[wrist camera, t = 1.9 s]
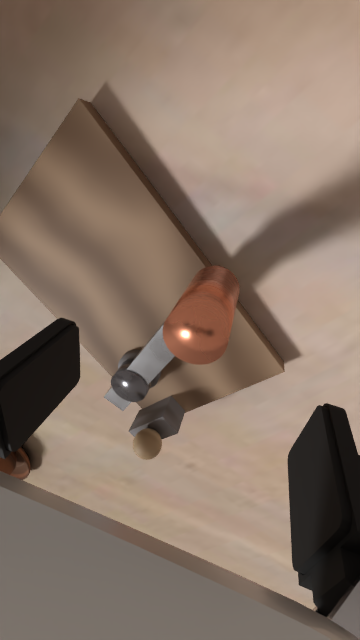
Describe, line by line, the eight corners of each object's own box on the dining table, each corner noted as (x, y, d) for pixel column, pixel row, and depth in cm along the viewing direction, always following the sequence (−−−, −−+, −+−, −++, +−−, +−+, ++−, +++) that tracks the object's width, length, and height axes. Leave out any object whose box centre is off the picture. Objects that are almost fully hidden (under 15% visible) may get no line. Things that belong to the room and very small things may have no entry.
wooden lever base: (158, 415, 34) (134, 471, 28) (-7, 240, 28) (-83, 260, 22) (283, 361, 26) (288, 422, 20) (90, 102, 20) (13, 75, 14)
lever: (134, 401, 30) (94, 474, 23) (107, 382, 30) (57, 449, 23) (252, 278, 21) (244, 338, 14) (213, 248, 20) (185, 291, 13)
